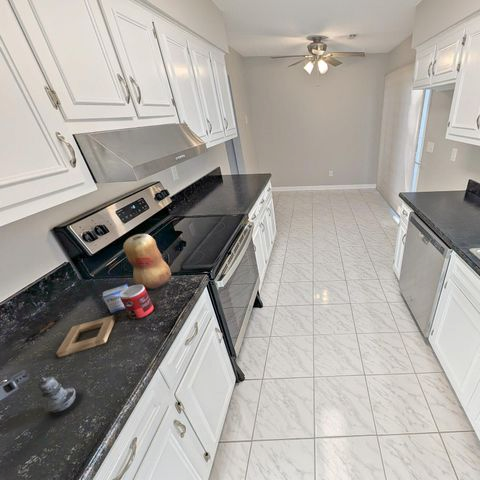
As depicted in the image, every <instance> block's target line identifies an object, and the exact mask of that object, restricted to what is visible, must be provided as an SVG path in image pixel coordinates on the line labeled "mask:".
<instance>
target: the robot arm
mask: <svg viewBox="0 0 480 480" xmlns="http://www.w3.org/2000/svg"><path fill="white" fill-rule="evenodd" d="M29 379H30V375H29V373H28V371H27V369H23V370H20V371H18V372H16V373H15V374H13V375H11V376H10V377H8V378H6V379H4V380H2V381H0V402H1V401H3V400H4V399H5V398H7V397H8V396H10V395H12V394H13V393H15V392H17V391H18V390H19V389H20V388H21V386H20V385H22V384H23V383H24V382H26V381H28V380H29Z"/></svg>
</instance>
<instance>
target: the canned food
mask: <svg viewBox="0 0 480 480" xmlns="http://www.w3.org/2000/svg"><path fill="white" fill-rule="evenodd" d="M119 297H120V299H121V301H122V303H123V305H124V307H125V308H124V309H125V310H126V312H127V314H128V316H129V318H131V320H137V319H141V318H144V317H146V316H148V315H149V314H151V313H152V312H153V310H154V305H153V303H152V300H151V298H150V296H149V294H148V291H147V289H145V287H144V286H143V285H137V284H133V285H131V286H128V288H126V289H124V290H122V291H121V292H120V294H119Z"/></svg>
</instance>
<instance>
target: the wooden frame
mask: <svg viewBox="0 0 480 480" xmlns="http://www.w3.org/2000/svg"><path fill="white" fill-rule="evenodd" d="M116 320H117V318H116V316H115V315H114V314H113V315H110V316H105V317H102V318H99V319H95V320H92V321H88V322H84V323H81V324H77V325H73V326H72V327H71V328H70V330H69V332H68V333H67V335H66V336H65V338H64V340H63V341H62V342H61V344H60V346H59V348H58V349H57V351H56V352H55V355H57V357H58V358H61V357H65V356H68V355H71V354H73V353H77V352H80V351H81V352H82V351H84V350H88V349H91V348H94V347H97V346H101V345H103V344H106V343H107V341H108V338H109V336H110V334H111V332H112V330H113V327H114V325H115V322H116ZM99 328H100V329H99ZM96 329H99V331H98V333H97V335H96V336H94V337H91V338H87V339H84V340H81V341H78V339H79V337H80V335H81V333H84V332H87V331H91V330H96Z"/></svg>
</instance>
